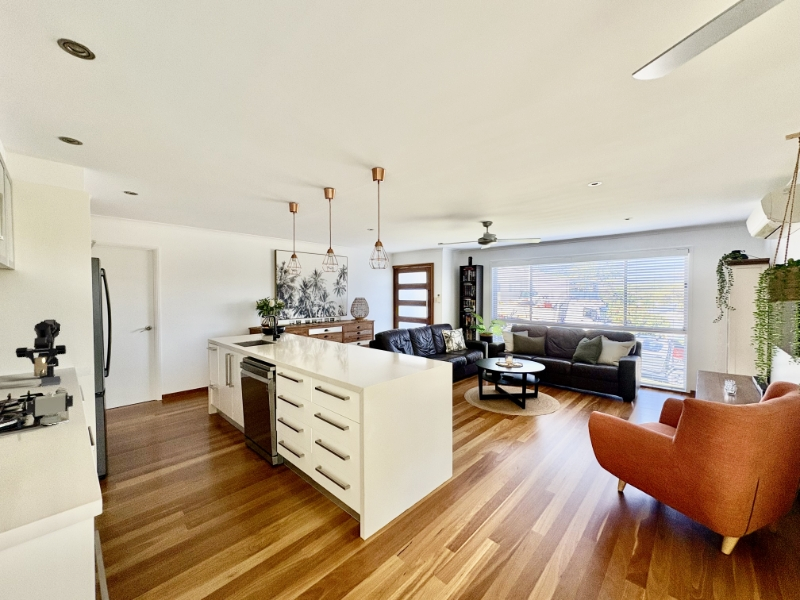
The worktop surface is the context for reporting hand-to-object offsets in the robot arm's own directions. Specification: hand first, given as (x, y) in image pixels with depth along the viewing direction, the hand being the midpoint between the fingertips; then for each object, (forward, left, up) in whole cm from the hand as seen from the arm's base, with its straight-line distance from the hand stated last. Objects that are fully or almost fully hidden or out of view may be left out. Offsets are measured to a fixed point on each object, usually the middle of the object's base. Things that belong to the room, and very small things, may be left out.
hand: (40, 363), depth 176 cm
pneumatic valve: (+85, +10, -13) cm, 87 cm away
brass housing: (-2, 0, -7) cm, 7 cm away
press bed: (0, +4, -12) cm, 13 cm away
